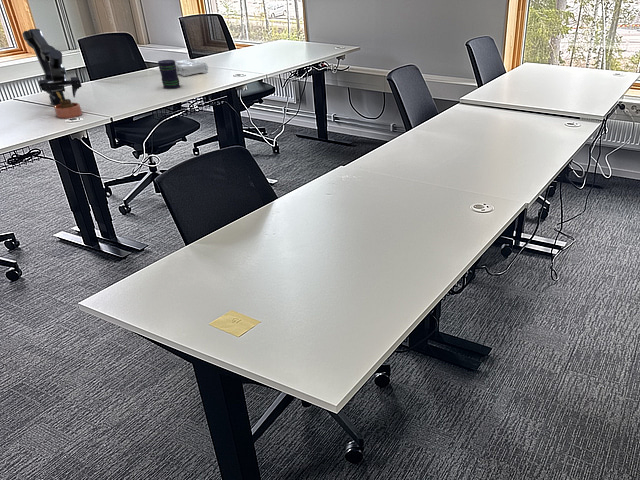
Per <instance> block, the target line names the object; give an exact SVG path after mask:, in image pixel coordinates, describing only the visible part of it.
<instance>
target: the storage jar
mask: <svg viewBox="0 0 640 480" xmlns="http://www.w3.org/2000/svg"><path fill="white" fill-rule="evenodd" d="M175 61H176V60H174V59H163V60H158V61H157V65H158V69H159V72H160V75H161V83H162V86H163V89H165V90H174V89H179V88H180V87H181V85H180V78H179V77H178V74H177V69H176V64H175Z"/></svg>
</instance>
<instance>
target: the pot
mask: <svg viewBox="0 0 640 480" xmlns="http://www.w3.org/2000/svg"><path fill="white" fill-rule="evenodd" d="M71 103H72V104H73V107H70V108H61V107H60V104H58V105H53V110H54V113H55V115H56V117H57V118H59V119H74V118H77V117H80V116H82V114H83V111H82V108H81V104H80V103H78V102H71Z"/></svg>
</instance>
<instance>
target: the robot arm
mask: <svg viewBox="0 0 640 480" xmlns="http://www.w3.org/2000/svg"><path fill="white" fill-rule="evenodd" d="M22 37H23V40H24V41H25V42H26V44H27V45H28V46H29V47H30V48H31V49H32V50H33V52H34V54H35V56H36V58H37V60H38V63H39V65H40V68H41V69H42V71H43V74H44V79H39V80H38V82H37V83H38V85H39V87H40V89H41V91H43V92H46V94H48V98H49V100H50V104H51V105H53V106H55V105H58V104H61V103H60V100H61V99H62V100H63V99H65V98H66V96H64V94H65V93H64V92H66V89H65V86H69V85H71V90H72V96H73V98H74V99H75V97H76V94H77V92H78V89H80V88H82V87H83V86H82V83H81V79H80V77H79V76H70V79H69V80H66V76H65V75H67V70H66V67H65V66H63V53H62V52H61V50H59V49H56V48H55V47H54V46H52V45H50V44H49V43H48V41H47V40H46V39H45V37H44V35H43V32H42V31H41V30H40V28H30V29H28V30H24V31H23V32H22ZM56 92H59V94H60V95H61V99H60V98H59V97H58V95H57V93H56Z"/></svg>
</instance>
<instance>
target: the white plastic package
mask: <svg viewBox="0 0 640 480" xmlns="http://www.w3.org/2000/svg"><path fill="white" fill-rule="evenodd" d="M174 61H175V64H176V69H177V75H181V76H183V77H188V76H191V75H196V74H201V73H202V74H207V73H208V71H209V65H208V63H206V62H203V61H199V60H198V61H197V60H195V59H192V58H185V59H183V60H182V59H181V60H174Z"/></svg>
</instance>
